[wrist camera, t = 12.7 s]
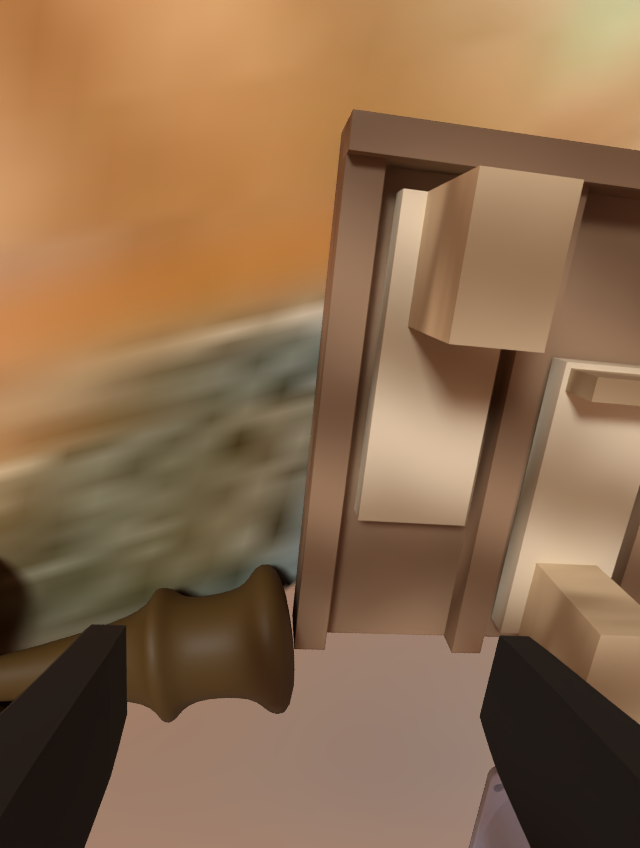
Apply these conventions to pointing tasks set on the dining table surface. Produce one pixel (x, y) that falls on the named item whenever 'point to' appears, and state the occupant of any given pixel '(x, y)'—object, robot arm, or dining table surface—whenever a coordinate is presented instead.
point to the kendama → (192, 649)
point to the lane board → (511, 396)
